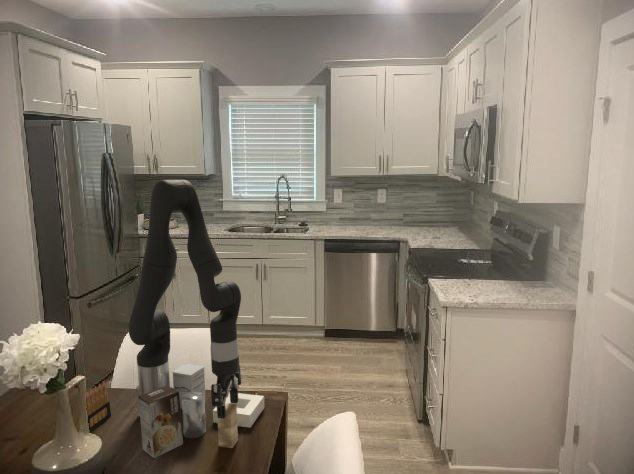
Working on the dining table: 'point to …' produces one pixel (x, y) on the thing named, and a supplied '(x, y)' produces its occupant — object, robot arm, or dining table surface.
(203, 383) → the supplement box
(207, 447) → the dining table surface
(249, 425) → the socket block
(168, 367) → the robot arm
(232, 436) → the square peg
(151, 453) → the coffee box
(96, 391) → the ammunition clip
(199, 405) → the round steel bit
